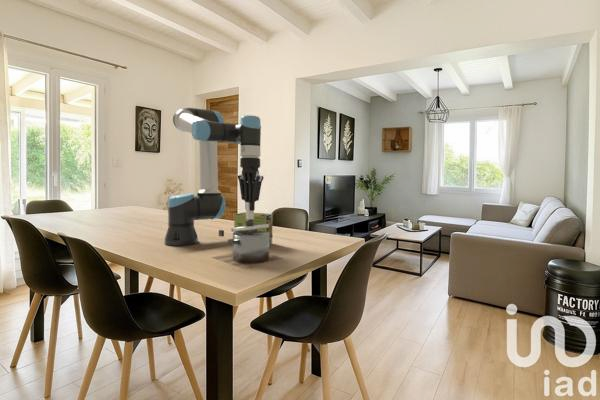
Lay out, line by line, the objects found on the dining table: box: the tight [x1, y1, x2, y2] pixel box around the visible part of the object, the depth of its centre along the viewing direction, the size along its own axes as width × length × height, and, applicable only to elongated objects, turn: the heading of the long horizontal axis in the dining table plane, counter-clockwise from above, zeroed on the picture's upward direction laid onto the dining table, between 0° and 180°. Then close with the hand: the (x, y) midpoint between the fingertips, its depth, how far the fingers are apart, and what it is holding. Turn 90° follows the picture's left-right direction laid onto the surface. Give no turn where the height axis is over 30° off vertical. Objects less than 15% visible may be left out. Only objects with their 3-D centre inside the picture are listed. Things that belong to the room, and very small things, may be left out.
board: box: [211, 252, 284, 269], centre depth 130 cm, size 20×20×1 cm
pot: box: [218, 229, 273, 264], centre depth 129 cm, size 16×19×11 cm
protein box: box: [233, 211, 274, 246], centre depth 153 cm, size 10×15×16 cm
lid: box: [230, 220, 269, 233], centre depth 128 cm, size 15×14×4 cm
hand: (249, 218), depth 128 cm, fingers closed
